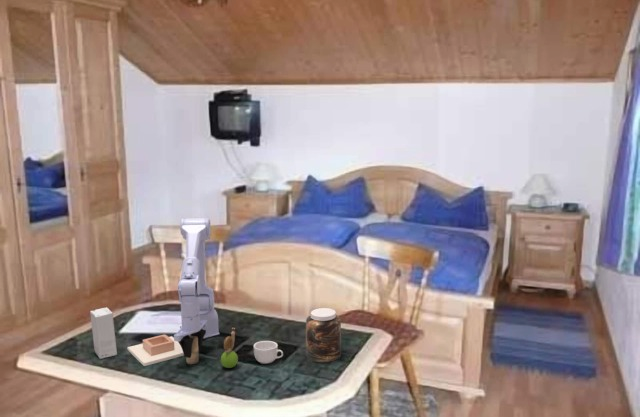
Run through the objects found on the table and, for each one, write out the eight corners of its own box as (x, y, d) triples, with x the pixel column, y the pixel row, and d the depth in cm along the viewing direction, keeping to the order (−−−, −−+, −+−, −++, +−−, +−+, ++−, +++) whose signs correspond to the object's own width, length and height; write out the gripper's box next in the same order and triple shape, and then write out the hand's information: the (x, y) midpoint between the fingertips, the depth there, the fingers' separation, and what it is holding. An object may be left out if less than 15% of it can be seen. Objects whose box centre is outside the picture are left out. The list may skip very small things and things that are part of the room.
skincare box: (117, 355, 194) (114, 313, 191) (98, 359, 191) (95, 316, 188) (111, 347, 201) (108, 306, 198) (92, 351, 197) (89, 309, 195)
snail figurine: (242, 363, 187) (241, 328, 185) (233, 372, 181) (232, 335, 179) (227, 361, 189) (226, 326, 187) (217, 369, 183) (216, 333, 181)
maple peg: (195, 357, 192) (194, 334, 190) (200, 361, 188) (199, 338, 187) (184, 360, 189) (183, 337, 188) (189, 365, 186) (188, 341, 185)
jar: (307, 347, 199) (307, 306, 197) (341, 348, 198) (341, 306, 196) (304, 362, 188) (304, 318, 185) (340, 363, 187) (340, 318, 184)
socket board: (172, 338, 207) (171, 328, 207) (190, 353, 195) (190, 342, 194) (127, 349, 198) (126, 338, 197) (144, 366, 185) (143, 354, 185)
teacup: (249, 364, 187) (249, 348, 186) (260, 354, 194) (259, 339, 193) (278, 368, 183) (277, 352, 182) (287, 358, 191) (287, 343, 190)
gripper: (194, 306, 194) (196, 344, 197) (165, 320, 181) (167, 360, 184) (211, 309, 191) (213, 347, 194) (183, 323, 178) (185, 364, 181)
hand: (192, 354), depth 188 cm, fingers closed on maple peg, 4 cm apart
